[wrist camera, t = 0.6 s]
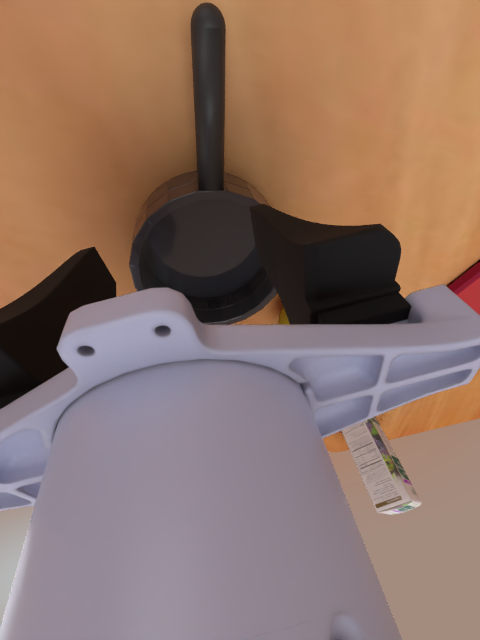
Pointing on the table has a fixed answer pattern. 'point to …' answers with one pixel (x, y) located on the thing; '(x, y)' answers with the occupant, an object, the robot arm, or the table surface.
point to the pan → (202, 248)
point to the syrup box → (380, 468)
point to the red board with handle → (469, 287)
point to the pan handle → (209, 94)
